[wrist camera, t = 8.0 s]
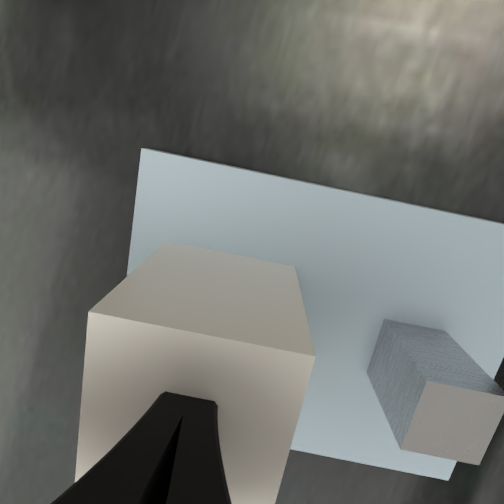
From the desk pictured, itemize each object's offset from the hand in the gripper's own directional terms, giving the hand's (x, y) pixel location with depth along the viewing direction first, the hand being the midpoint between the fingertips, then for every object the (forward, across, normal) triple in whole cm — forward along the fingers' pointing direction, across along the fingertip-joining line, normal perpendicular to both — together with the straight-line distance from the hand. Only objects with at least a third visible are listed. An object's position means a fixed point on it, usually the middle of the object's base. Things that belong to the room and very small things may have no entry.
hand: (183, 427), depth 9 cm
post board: (+7, -4, 0) cm, 8 cm away
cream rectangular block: (+6, 0, 0) cm, 7 cm away
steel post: (+7, -8, 0) cm, 11 cm away
